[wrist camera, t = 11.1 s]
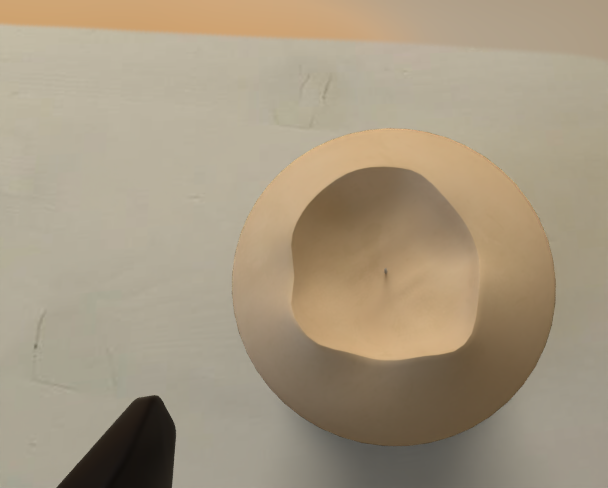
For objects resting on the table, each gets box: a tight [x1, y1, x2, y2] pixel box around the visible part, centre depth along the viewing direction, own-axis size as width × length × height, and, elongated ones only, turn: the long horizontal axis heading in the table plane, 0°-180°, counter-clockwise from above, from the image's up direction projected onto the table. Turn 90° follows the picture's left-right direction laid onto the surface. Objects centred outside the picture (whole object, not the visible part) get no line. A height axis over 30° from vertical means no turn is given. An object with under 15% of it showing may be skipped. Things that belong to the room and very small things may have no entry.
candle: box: [232, 128, 556, 446], centre depth 12 cm, size 6×6×10 cm
